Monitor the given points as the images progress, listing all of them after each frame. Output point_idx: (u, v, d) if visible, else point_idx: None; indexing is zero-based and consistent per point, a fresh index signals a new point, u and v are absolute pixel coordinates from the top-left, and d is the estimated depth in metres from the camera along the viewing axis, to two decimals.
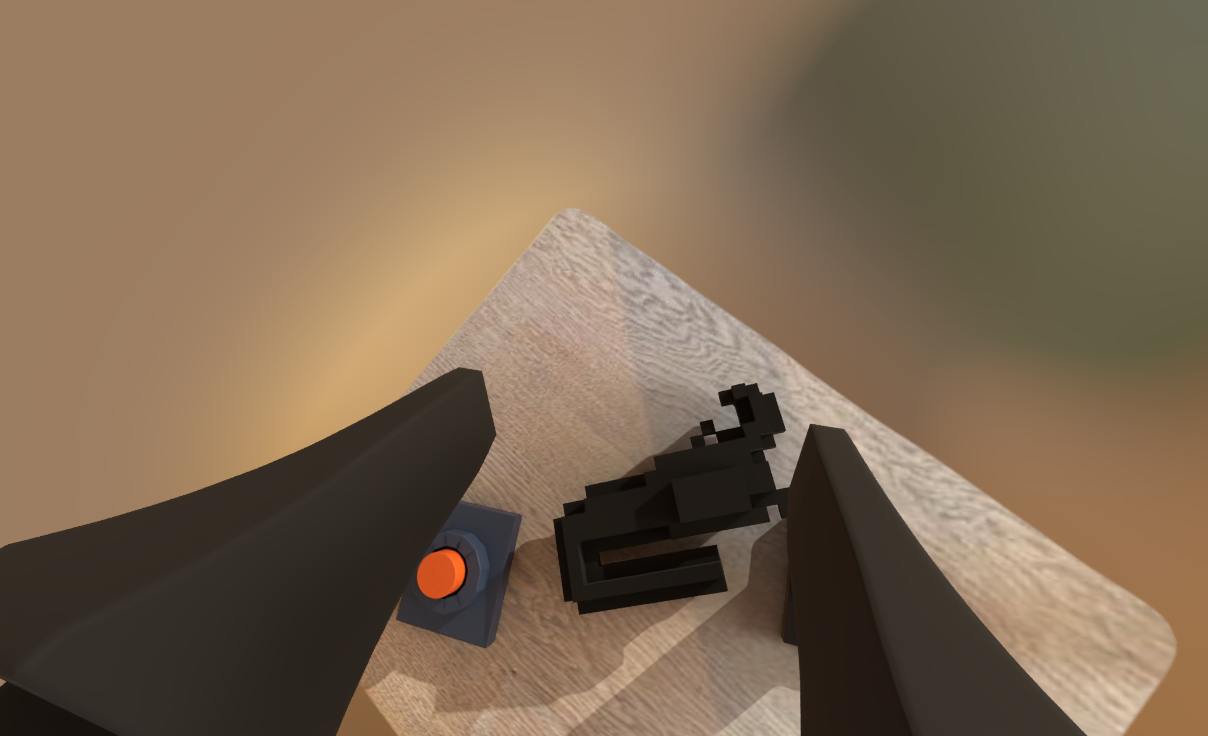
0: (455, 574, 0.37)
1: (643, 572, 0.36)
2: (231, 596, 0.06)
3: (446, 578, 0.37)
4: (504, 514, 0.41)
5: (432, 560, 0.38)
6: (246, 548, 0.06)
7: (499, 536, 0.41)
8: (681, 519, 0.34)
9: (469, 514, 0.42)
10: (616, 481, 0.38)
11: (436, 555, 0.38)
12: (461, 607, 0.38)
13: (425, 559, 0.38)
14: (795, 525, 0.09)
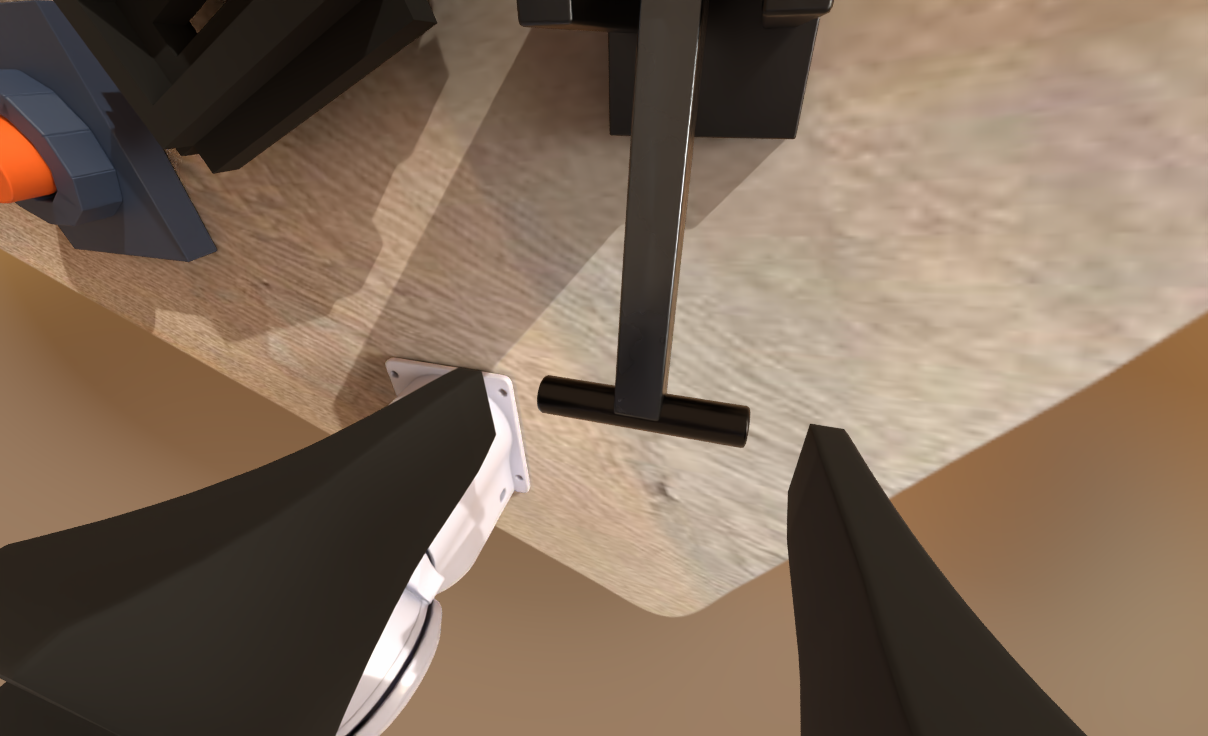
0: None
1: None
2: (230, 596, 0.06)
3: None
4: (19, 3, 0.18)
5: None
6: (246, 548, 0.06)
7: (53, 60, 0.19)
8: None
9: None
10: None
11: None
12: (79, 209, 0.22)
13: None
14: (795, 525, 0.09)
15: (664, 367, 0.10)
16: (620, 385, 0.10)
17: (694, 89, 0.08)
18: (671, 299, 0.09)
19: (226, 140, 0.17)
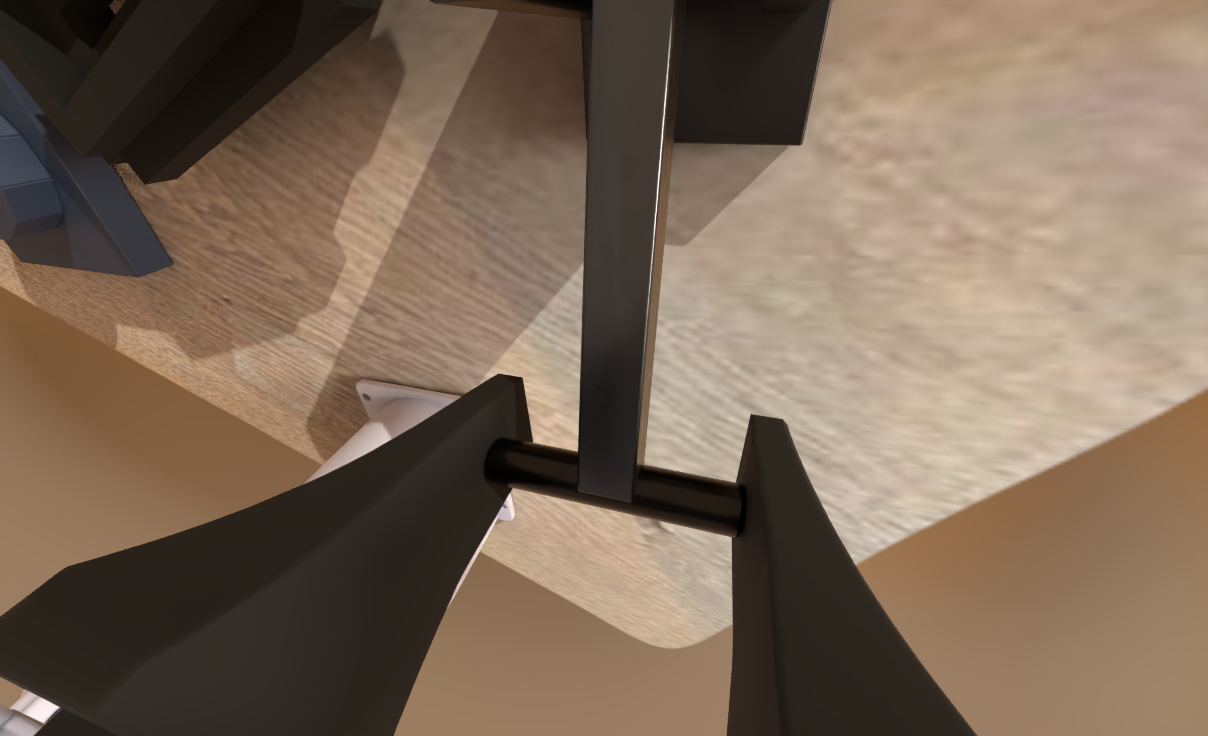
0: None
1: None
2: (296, 619, 0.05)
3: None
4: None
5: None
6: (311, 568, 0.05)
7: None
8: None
9: None
10: None
11: None
12: (12, 222, 0.20)
13: None
14: None
15: (637, 440, 0.08)
16: (584, 459, 0.08)
17: (668, 88, 0.06)
18: (644, 358, 0.07)
19: (154, 147, 0.15)
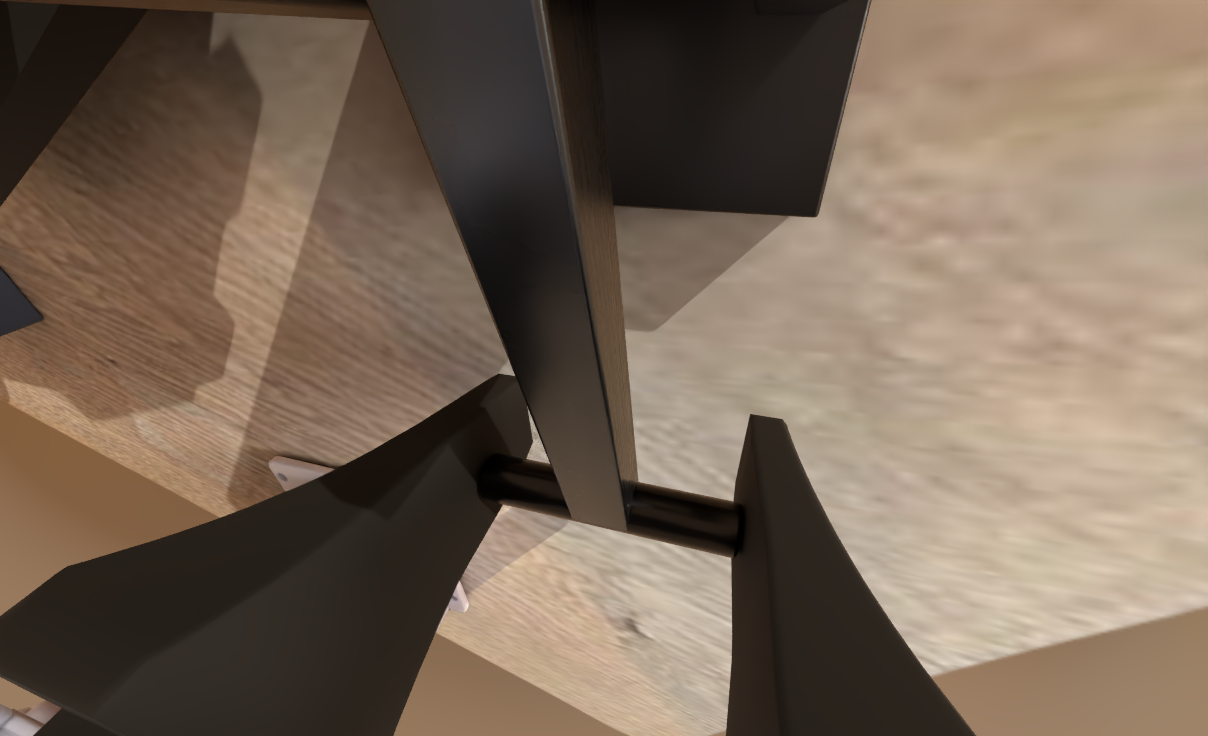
0: None
1: None
2: (296, 619, 0.05)
3: None
4: None
5: None
6: (310, 568, 0.05)
7: None
8: None
9: None
10: None
11: None
12: None
13: None
14: None
15: (622, 500, 0.07)
16: (572, 504, 0.08)
17: (577, 194, 0.03)
18: (615, 456, 0.06)
19: None
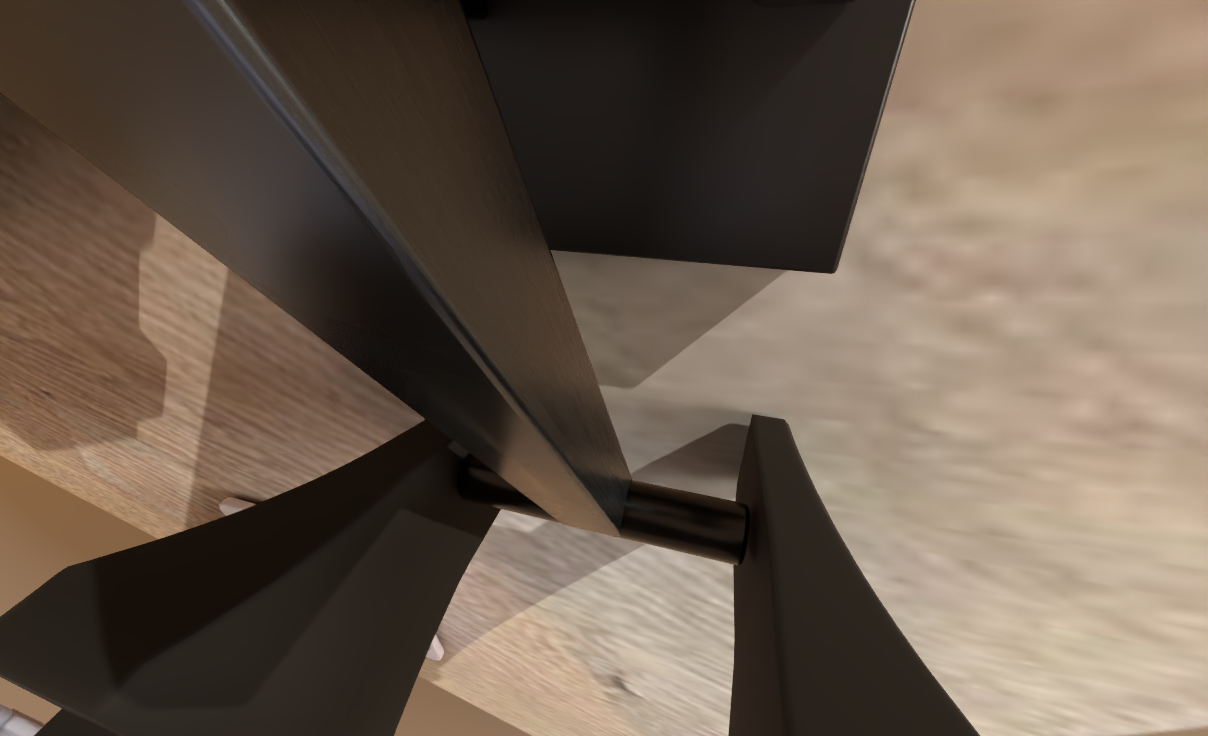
0: None
1: None
2: (297, 619, 0.05)
3: None
4: None
5: None
6: (311, 568, 0.05)
7: None
8: None
9: None
10: None
11: None
12: None
13: None
14: None
15: (610, 520, 0.06)
16: (556, 516, 0.07)
17: (441, 271, 0.02)
18: (592, 498, 0.05)
19: None
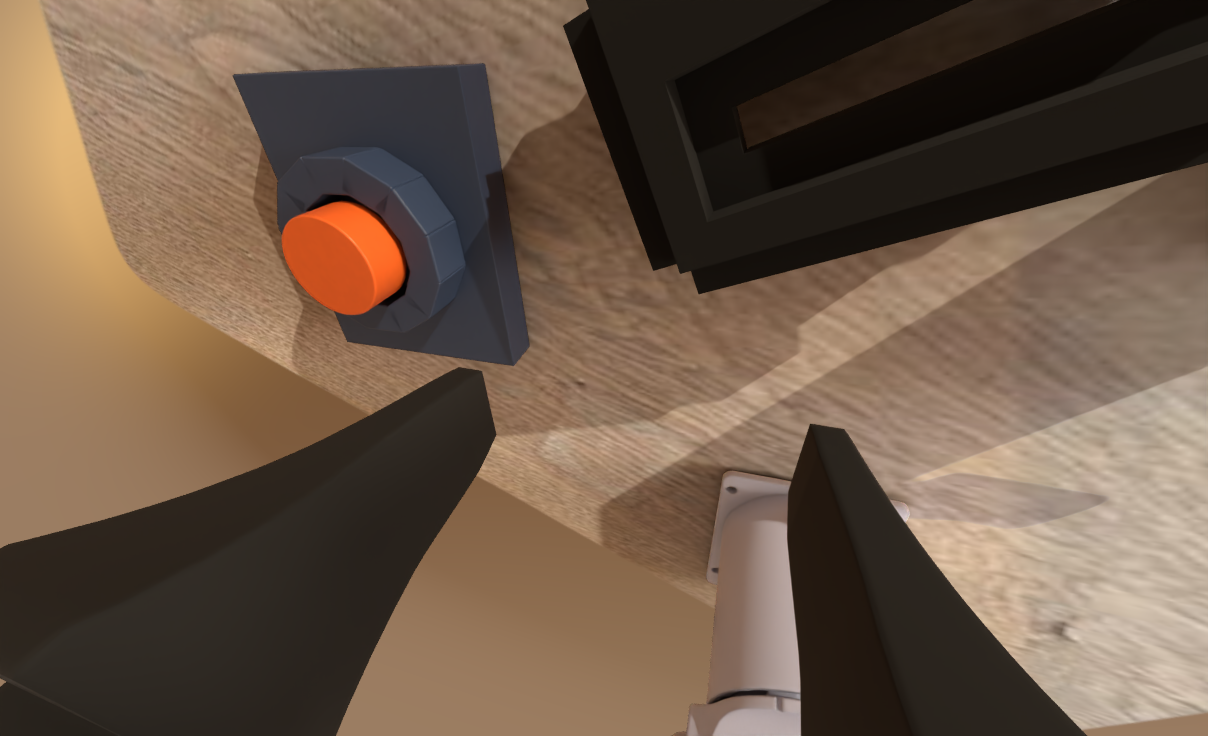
0: (365, 259, 0.15)
1: (924, 134, 0.10)
2: (231, 596, 0.06)
3: (352, 271, 0.15)
4: (428, 69, 0.14)
5: (300, 237, 0.15)
6: (246, 548, 0.06)
7: (443, 138, 0.15)
8: None
9: (346, 97, 0.15)
10: None
11: (299, 224, 0.15)
12: (427, 316, 0.17)
13: (285, 239, 0.15)
14: (795, 525, 0.09)
15: None
16: None
17: None
18: None
19: (759, 258, 0.12)
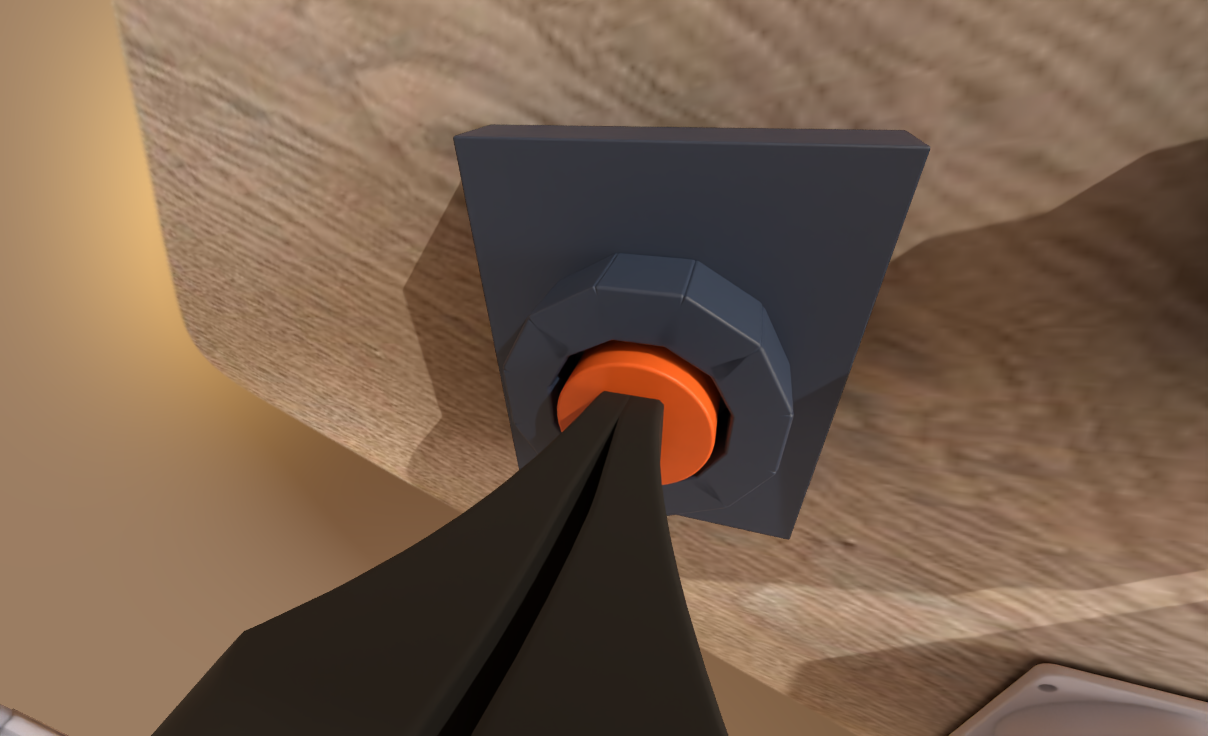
0: (711, 428, 0.09)
1: None
2: (486, 685, 0.05)
3: (676, 439, 0.10)
4: (859, 148, 0.08)
5: (604, 389, 0.10)
6: (497, 626, 0.05)
7: (831, 256, 0.09)
8: None
9: (664, 183, 0.09)
10: None
11: (612, 374, 0.09)
12: (723, 505, 0.11)
13: (573, 388, 0.10)
14: None
15: None
16: None
17: None
18: None
19: None
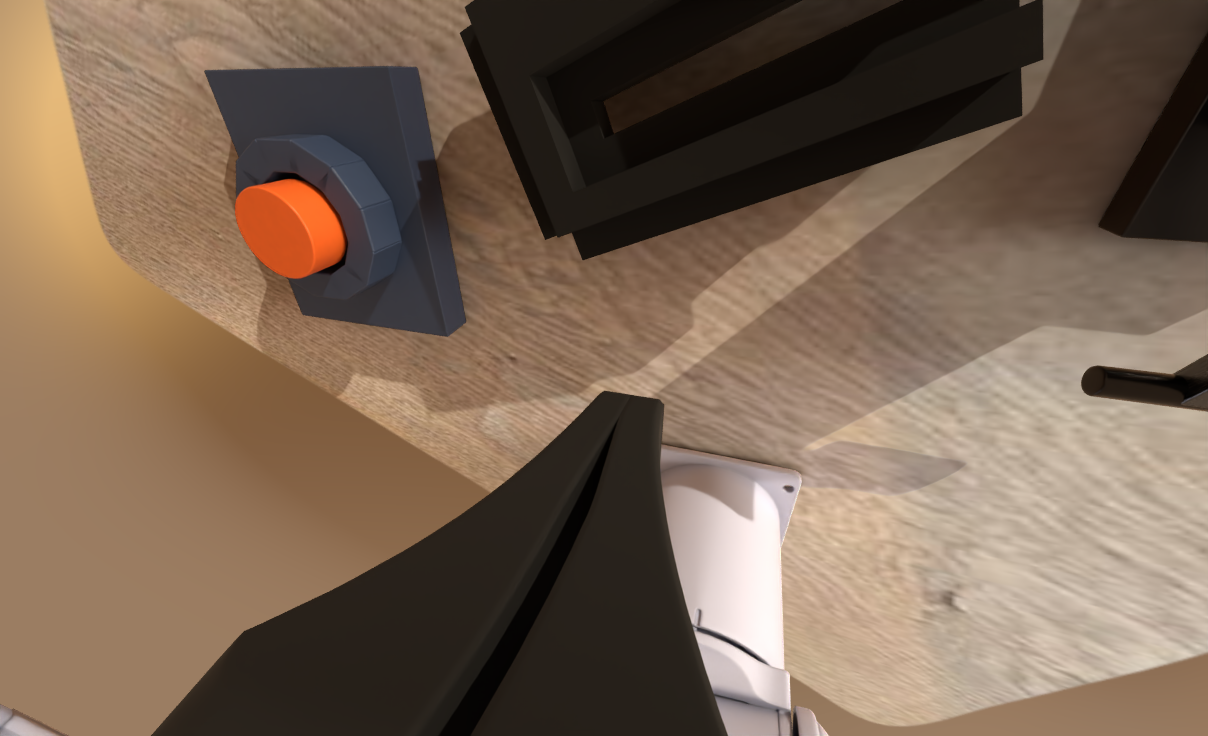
0: (304, 226, 0.17)
1: (731, 123, 0.12)
2: (486, 686, 0.05)
3: (294, 237, 0.17)
4: (365, 68, 0.16)
5: (250, 206, 0.17)
6: (497, 626, 0.05)
7: (379, 128, 0.17)
8: None
9: (299, 91, 0.18)
10: None
11: (249, 194, 0.17)
12: (364, 284, 0.19)
13: (237, 208, 0.17)
14: None
15: None
16: None
17: None
18: None
19: (625, 227, 0.15)
